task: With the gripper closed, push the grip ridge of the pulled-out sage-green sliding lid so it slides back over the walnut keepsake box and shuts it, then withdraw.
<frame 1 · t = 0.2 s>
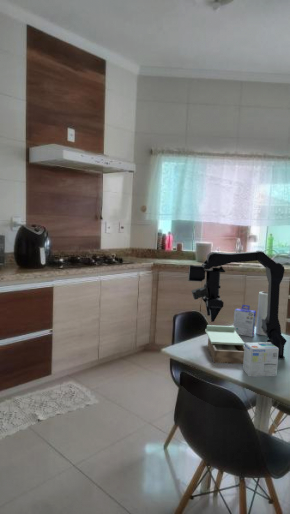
hand: (210, 318, 145), 14 cm above the table, fingers open, 9 cm apart
light bulb box: (259, 373, 128), on the table
box: (226, 355, 143), on the table
ink cartridge box: (243, 334, 172), on the table
lid: (224, 334, 149), point 7 cm above the table, slide at 7.0 cm
paper towel roll: (262, 334, 173), on the table
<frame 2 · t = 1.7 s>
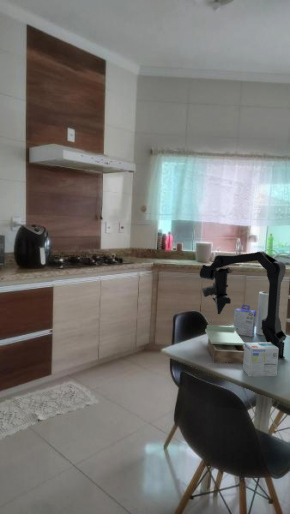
hand: (218, 314, 162), 12 cm above the table, fingers closed
nothing on the table moved.
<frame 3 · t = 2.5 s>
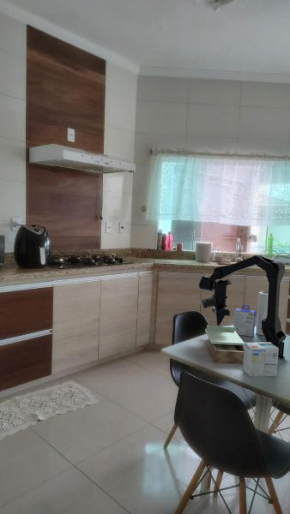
hand: (218, 325, 163), 7 cm above the table, fingers closed
nothing on the table moved.
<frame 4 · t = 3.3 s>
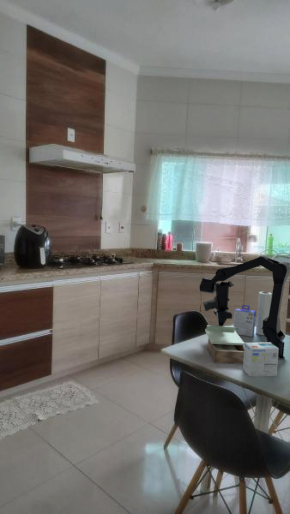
hand: (220, 328, 158), 6 cm above the table, fingers closed
lid: (224, 334, 149), point 7 cm above the table, slide at 7.0 cm, touching gripper
everything else where it was.
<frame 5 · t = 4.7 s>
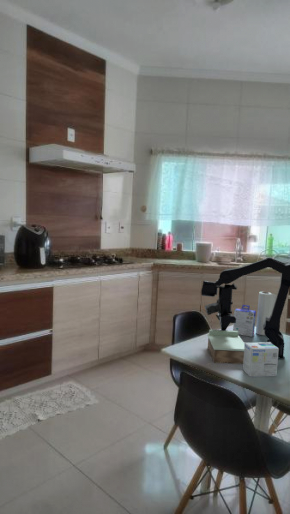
hand: (222, 332, 152), 7 cm above the table, fingers closed
lid: (227, 339, 142), point 7 cm above the table, slide at 0.4 cm, touching gripper
everything else where it was.
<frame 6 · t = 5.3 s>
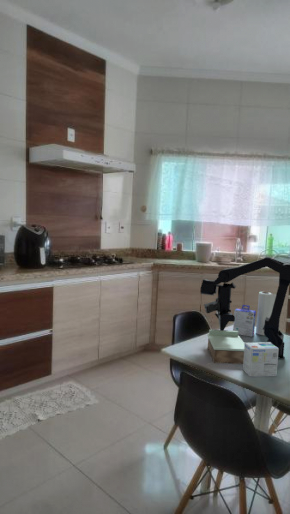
hand: (221, 331, 154), 7 cm above the table, fingers closed
lid: (227, 339, 142), point 7 cm above the table, slide at 0.4 cm
everything else where it was.
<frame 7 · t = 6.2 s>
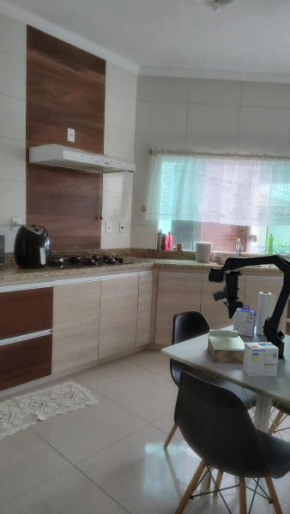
hand: (230, 318, 155), 12 cm above the table, fingers closed
nothing on the table moved.
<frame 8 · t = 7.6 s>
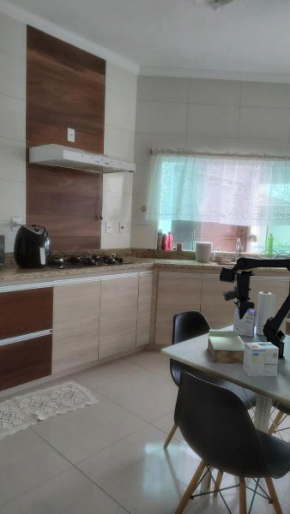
hand: (240, 319, 153), 13 cm above the table, fingers closed
nothing on the table moved.
at the end: lid slide at 0.4 cm; the gripper is holding nothing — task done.
